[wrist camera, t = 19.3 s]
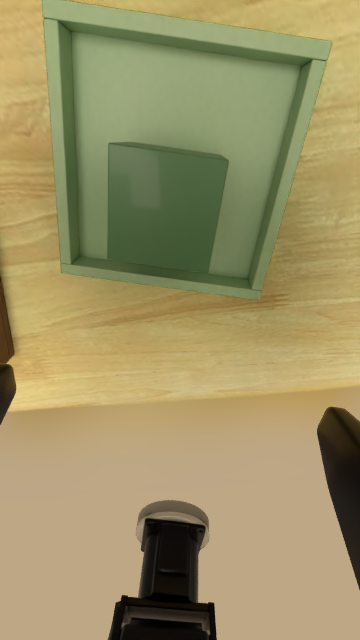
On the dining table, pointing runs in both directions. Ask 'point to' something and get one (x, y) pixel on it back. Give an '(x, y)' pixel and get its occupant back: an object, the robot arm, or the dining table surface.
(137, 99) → the green tray
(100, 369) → the dining table surface
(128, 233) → the green block
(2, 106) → the dining table surface
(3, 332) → the walnut tray
